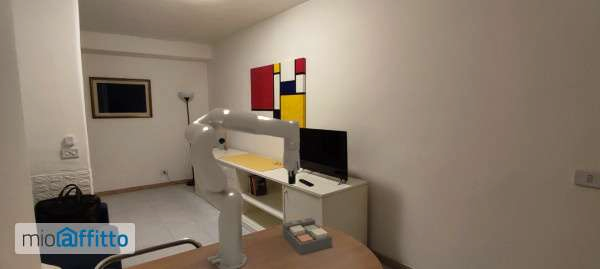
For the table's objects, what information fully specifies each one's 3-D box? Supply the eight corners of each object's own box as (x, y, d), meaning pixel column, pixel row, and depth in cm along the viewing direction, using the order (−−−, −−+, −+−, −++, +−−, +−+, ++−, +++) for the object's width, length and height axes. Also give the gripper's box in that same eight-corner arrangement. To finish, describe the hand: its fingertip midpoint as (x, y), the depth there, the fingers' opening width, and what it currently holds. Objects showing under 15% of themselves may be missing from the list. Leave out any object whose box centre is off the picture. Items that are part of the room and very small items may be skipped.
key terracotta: (302, 246, 126) (302, 241, 125) (296, 240, 131) (296, 236, 130) (313, 243, 128) (313, 238, 128) (307, 237, 133) (307, 233, 133)
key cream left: (294, 236, 132) (294, 232, 132) (289, 231, 137) (289, 227, 137) (305, 233, 135) (305, 229, 134) (300, 228, 140) (300, 225, 139)
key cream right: (316, 239, 129) (316, 235, 129) (310, 234, 134) (310, 230, 134) (327, 236, 131) (327, 232, 131) (321, 231, 136) (321, 227, 136)
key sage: (308, 235, 136) (308, 231, 135) (303, 230, 141) (303, 226, 140) (319, 232, 138) (319, 228, 138) (313, 228, 143) (313, 224, 143)
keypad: (300, 255, 124) (300, 239, 123) (283, 237, 141) (283, 223, 140) (331, 247, 131) (331, 231, 130) (311, 230, 148) (311, 217, 147)
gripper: (278, 144, 141) (278, 181, 143) (291, 149, 128) (291, 189, 130) (292, 143, 144) (292, 179, 146) (306, 147, 131) (306, 186, 133)
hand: (291, 183), depth 138 cm, fingers closed
